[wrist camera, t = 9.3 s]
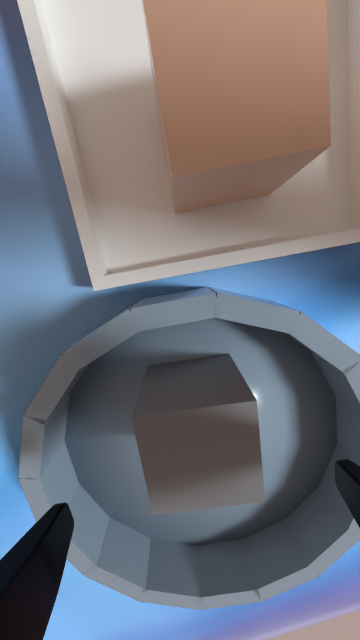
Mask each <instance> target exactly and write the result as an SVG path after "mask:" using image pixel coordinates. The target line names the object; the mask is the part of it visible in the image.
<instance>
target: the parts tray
mask: <svg viewBox="0 0 360 640" xmlns="http://www.w3.org/2000/svg"><path fill="white" fill-rule="evenodd" d="M17 2H18V6H19V10H20V14H21V17H22V21H23V25H24V29H25V33H26V36H27V40H28V44H29V48H30V51H31V55H32V59H33V63H34V67H35V70H36V74H37V78H38V82H39V86H40V89H41V93H42V97H43V101H44V104H45V108H46V112H47V116H48V120H49V123H50V127H51V131H52V135H53V139H54V142H55V146H56V150H57V154H58V157H59V161H60V165H61V169H62V173H63V176H64V180H65V184H66V188H67V192H68V195H69V199H70V203H71V207H72V210H73V214H74V218H75V222H76V226H77V229H78V233H79V237H80V241H81V245H82V248H83V252H84V256H85V260H86V263H87V267H88V271H89V275H90V279H91V282H92V286H93V290H94V291H97V290H102V289H108V288H113V287H119V286H124V285H130V284H135V283H140V282H146V281H151V280H157V279H162V278H168V277H173V276H178V275H184V274H189V273H195V272H200V271H206V270H211V269H216V268H222V267H227V266H233V265H238V264H243V263H249V262H254V261H260V260H265V259H271V258H276V257H281V256H287V255H292V254H298V253H303V252H309V251H314V250H319V249H325V248H330V247H336V246H341V245H347V244H352V243H357V242H360V0H327V21H328V55H329V90H330V124H331V146H330V147H329V148H328V149H326V150H325V151H324V152H323V153H321V154H320V155H319V156H318V157H316V158H315V159H314V160H313V161H311V162H310V163H309V164H308V165H306V166H305V167H304V168H303V169H301V170H300V171H299V172H298V173H296V174H295V175H294V176H293V177H291V178H290V179H289V180H288V181H286V182H285V183H284V184H283V185H281V186H280V187H279V188H278V189H276V190H275V191H274V192H273V193H271V194H270V195H269V196H263V197H258V198H253V199H248V200H243V201H238V202H232V203H227V204H222V205H217V206H212V207H207V208H201V209H196V210H191V211H186V212H181V213H176V214H175V211H174V205H173V199H172V193H171V187H170V181H169V176H168V170H167V164H166V158H165V152H164V147H163V141H162V135H161V129H160V123H159V118H158V112H157V106H156V99H155V92H154V85H153V77H152V70H151V63H150V55H149V48H148V41H147V33H146V26H145V19H144V11H143V4H142V0H17Z"/></svg>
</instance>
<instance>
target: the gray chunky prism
mask: <svg viewBox="0 0 360 640" xmlns="http://www.w3.org/2000/svg"><path fill="white" fill-rule="evenodd" d="M131 420H132V424H133V429H134V433H135V438H136V442H137V447H138V451H139V456H140V460H141V464H142V469H143V473H144V478H145V482H146V487H147V491H148V496H149V500H150V505H151V509H152V514H153V515H159V514H167V513H175V512H183V511H192V510H200V509H208V508H216V507H224V506H232V505H240V504H248V503H256V502H265V492H264V480H263V468H262V456H261V444H260V431H259V419H258V407H257V400H256V398H255V396H254V395H253V393H252V391H251V390H250V388H249V386H248V384H247V383H246V381H245V379H244V378H243V376H242V374H241V373H240V371H239V369H238V367H237V366H236V364H235V362H234V361H233V359H232V357H231V356H230V354H223V355H216V356H209V357H202V358H194V359H187V360H180V361H173V362H166V363H159V364H152V365H148V366H147V369H146V372H145V375H144V378H143V381H142V384H141V388H140V391H139V394H138V397H137V400H136V403H135V406H134V410H133V413H132V416H131Z"/></svg>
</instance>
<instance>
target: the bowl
mask: <svg viewBox="0 0 360 640" xmlns="http://www.w3.org/2000/svg"><path fill="white" fill-rule="evenodd" d="M223 354H230V356H231V357H232V359H233V361H234V362H235V364H236V366H237V367H238V369H239V371H240V373H241V374H242V376H243V378H244V379H245V381H246V383H247V384H248V386H249V388H250V390H251V391H252V393H253V395H254V396H255V398H256V400H257V407H258V419H259V431H260V444H261V456H262V468H263V480H264V492H265V502H256V503H248V504H240V505H232V506H224V507H216V508H208V509H200V510H192V511H183V512H175V513H167V514H159V515H153V514H152V509H151V505H150V500H149V496H148V491H147V487H146V482H145V478H144V473H143V469H142V464H141V460H140V456H139V451H138V447H137V442H136V438H135V433H134V429H133V424H132V420H131V416H132V413H133V410H134V406H135V403H136V400H137V397H138V394H139V391H140V388H141V384H142V381H143V378H144V375H145V372H146V369H147V366H148V365H152V364H159V363H166V362H173V361H180V360H187V359H194V358H202V357H209V356H216V355H223ZM342 459H349V460H351V461H353V462H354V463H356V464H358V465H359V466H360V355H359V354H358V353H357V352H355V351H354V350H352V349H351V348H350V347H348V346H347V345H346V344H344V343H343V342H342V341H340V340H339V339H338V338H336V337H335V336H334V335H332V334H331V333H330V332H328V331H327V330H326V329H324V328H323V327H322V326H320V325H319V324H318V323H316V322H315V321H314V320H312V319H311V318H309V317H308V316H307V315H305V314H304V313H303V312H301V311H298V310H296V309H293V308H290V307H287V306H284V305H282V304H279V303H276V302H273V301H270V300H265V299H261V298H256V297H251V296H247V295H242V294H238V293H233V292H229V291H224V290H220V289H215V288H210V287H208V288H207V287H204V288H198V289H193V290H187V291H182V292H176V293H171V294H165V295H160V296H154V297H149V298H143V299H140V300H139V301H137V302H136V303H134V304H133V305H131V306H130V307H128V308H127V309H125V310H124V311H122V312H120V313H119V314H117V315H116V316H114V317H113V318H111V319H110V320H108V321H107V322H105V323H104V324H102V325H101V326H99V327H98V328H96V329H95V330H93V331H92V332H90V333H88V334H87V335H86V336H84V337H83V338H82V339H80V340H79V341H78V342H76V343H75V344H73V345H72V346H71V347H69V348H68V349H67V350H65V351H64V352H62V354H60V356H59V357H58V359H57V361H56V362H55V364H54V365H53V367H52V369H51V370H50V372H49V374H48V375H47V377H46V378H45V380H44V382H43V383H42V385H41V387H40V388H39V390H38V391H37V393H36V395H35V396H34V398H33V400H32V401H31V403H30V405H29V406H28V408H27V409H26V411H25V413H24V415H23V422H22V435H21V449H20V462H19V476H18V478H19V482H20V484H21V486H22V489H23V491H24V494H25V496H26V498H27V501H28V503H29V506H30V508H31V511H32V513H33V515H34V518H35V520H36V522H37V521H38V520H39V519H40V518H41V517H42V516H43V515H44V514H45V513H46V512H47V511H48V510H49V509H50V508H51V507H52V506H53V505H54V504H57V503H64V502H66V503H68V505H69V507H70V510H71V513H72V516H73V518H74V530H73V534H72V538H71V542H70V546H69V551H68V555H67V560H68V561H69V562H70V563H71V564H72V565H73V566H74V567H75V568H76V569H77V570H78V571H80V572H81V573H82V574H83V575H85V577H88V578H90V579H92V580H94V581H96V582H98V583H101V584H103V585H105V586H107V587H109V588H111V589H113V590H116V591H118V592H120V593H122V594H124V595H126V596H129V597H131V598H133V599H135V600H137V601H139V600H140V602H147V603H154V604H161V605H168V606H175V607H182V608H190V609H197V610H199V609H200V610H203V609H211V608H218V607H226V606H233V605H241V604H248V603H255V602H261V601H264V600H266V599H269V598H271V597H273V596H276V595H278V594H280V593H282V592H285V591H287V590H289V589H291V588H294V587H296V586H298V585H301V584H303V583H305V582H307V581H310V580H312V579H314V578H317V576H320V575H321V574H322V573H323V572H324V571H325V570H326V569H327V568H329V567H330V566H331V565H332V564H333V563H334V562H335V561H337V560H338V559H339V558H340V557H341V556H342V555H343V554H344V553H346V552H347V551H348V550H349V549H350V548H351V547H352V546H353V545H355V544H356V543H357V542H358V541H359V540H360V528H359V526H358V524H357V523H356V521H355V519H354V517H353V516H352V514H351V512H350V510H349V508H348V507H347V505H346V503H345V501H344V499H343V498H342V496H341V494H340V492H339V491H338V489H337V486H336V484H335V475H334V462H335V461H336V460H342ZM260 600H261V601H260Z"/></svg>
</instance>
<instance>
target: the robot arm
mask: <svg viewBox="0 0 360 640" xmlns="http://www.w3.org/2000/svg"><path fill="white" fill-rule="evenodd" d="M334 475H335V484H336V486H337V489H338V491H339V492H340V494H341V496H342V498H343V499H344V501H345V503H346V505H347V507H348V508H349V510H350V512H351V514H352V516H353V517H354V519H355V521H356V523H357V524H358V526H359V528H360V466H359V465H358V464H356V463H354V462H353V461H351V460H349V459H342V460H336V461H335V462H334ZM73 530H74V518H73V516H72V513H71V510H70V507H69V505H68V503H66V502H64V503H57V504H54V505H53V506H52V507H51V508H50V509H49V510H48V511H47V512H46V513H45V514H44V515H43V516H42V517H41V518H40V519H39V520H38V521H37V522H36V523H35V525H34V526H33V527H32V528H31V529H30V530H29V531H28V532H27V533H26V534H25V535H24V536H23V537H22V538H21V539H20V540H19V541H18V542H17V543H16V544H15V545H14V546H13V547H12V548H11V549H10V551H9V552H8V553H7V554H6V555H5V556H4V557H3V558H2V559H1V560H0V640H43V637H44V634H45V631H46V628H47V625H48V622H49V619H50V616H51V613H52V610H53V607H54V603H55V600H56V597H57V594H58V590H59V586H60V583H61V579H62V575H63V571H64V567H65V563H66V559H67V555H68V551H69V546H70V542H71V538H72V534H73Z"/></svg>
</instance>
